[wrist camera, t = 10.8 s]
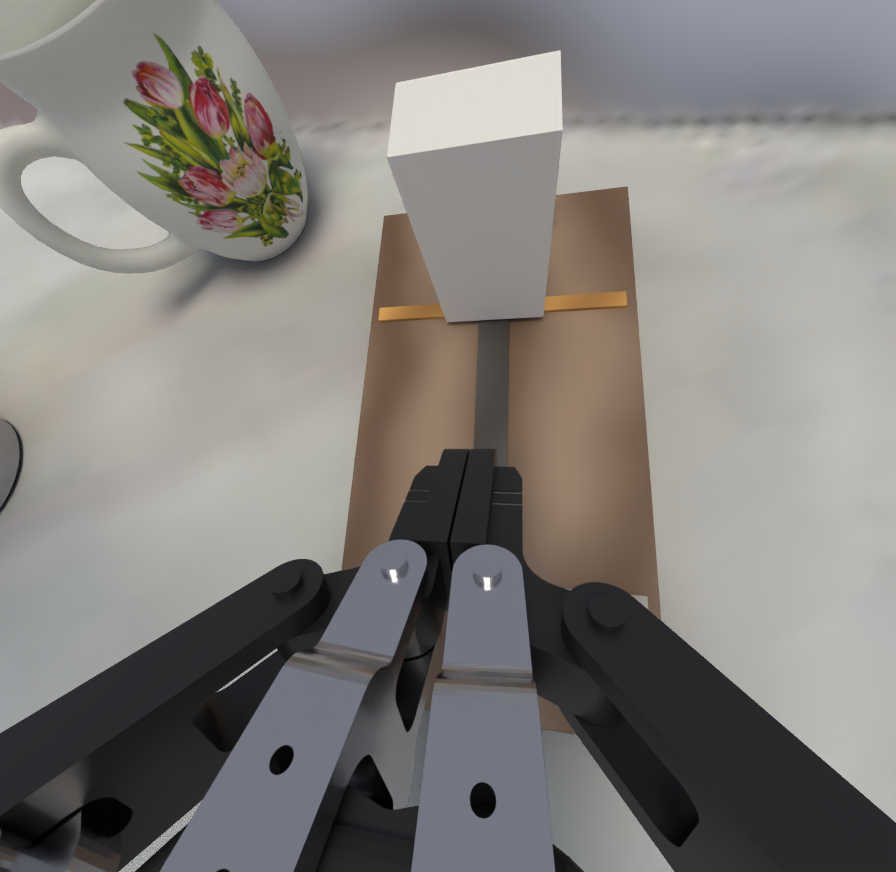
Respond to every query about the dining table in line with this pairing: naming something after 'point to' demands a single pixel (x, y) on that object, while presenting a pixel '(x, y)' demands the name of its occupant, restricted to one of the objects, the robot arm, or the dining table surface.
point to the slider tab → (482, 181)
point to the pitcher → (152, 126)
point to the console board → (519, 406)
